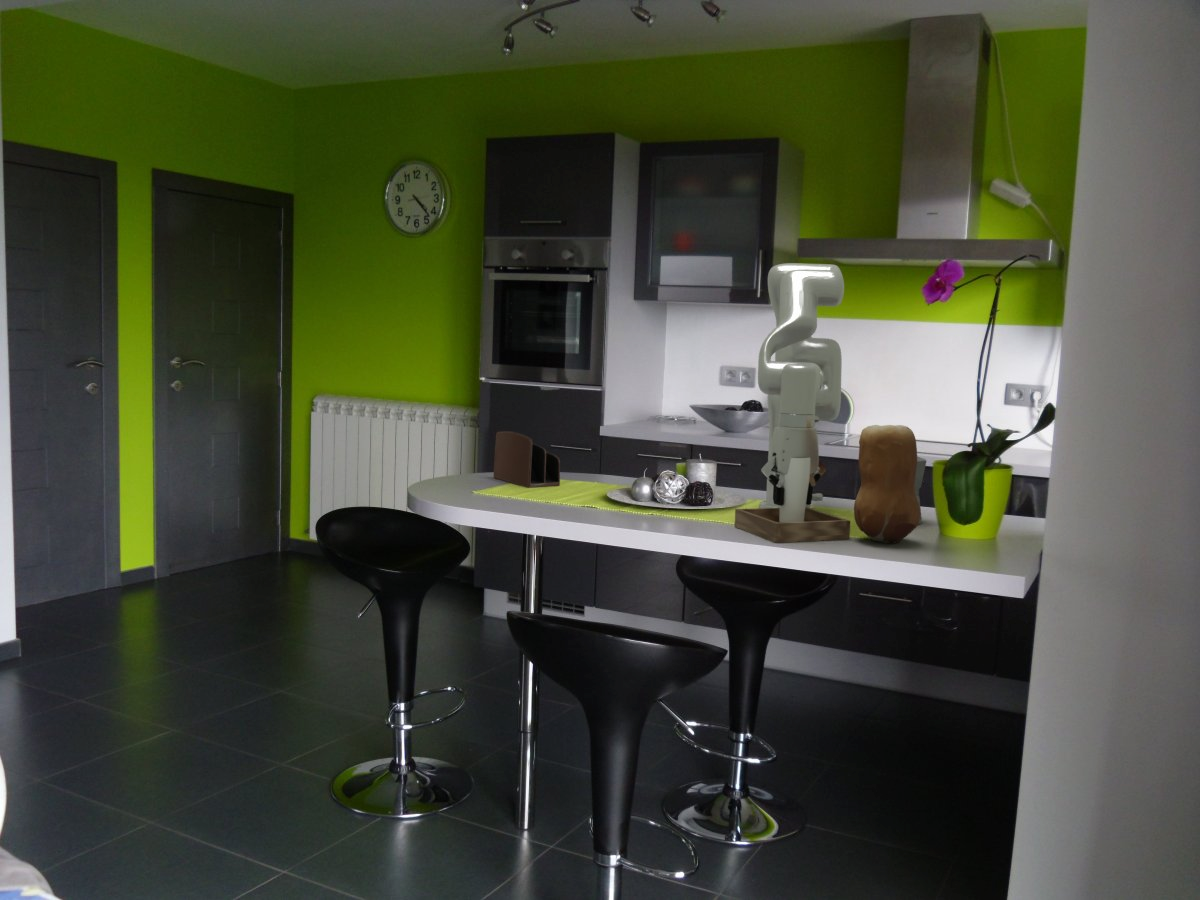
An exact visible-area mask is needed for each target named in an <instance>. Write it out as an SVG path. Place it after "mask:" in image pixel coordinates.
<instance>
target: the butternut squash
mask: <svg viewBox="0 0 1200 900" xmlns="http://www.w3.org/2000/svg"><path fill="white" fill-rule="evenodd" d="M858 444H859V448H858V470H859V474H860V487H859V490H858V493H857V495H856V498H855V500H854V504H853V517H854V521H855V523H856V526H857V527H858V529H859V531H861V532H863V533H864V534H865V535H866V536H867V537H868V538H870V539H872V541H876V542H880V543H884V544H892V545H893V544H896V543H899V542H901V541H902V540H903V539H905V538H906V537H907V536H909V535H910V534H911V533H913V531H914V530H916V528H918V526H919V525H918V523H919V519H920V515H921V516H922V513H921V514H920V508H921V505H920V506H919V503H918V500H917V497H916V493H915V486H914V485H915V476H916V469H917V457H918V447H917V440H916V436H915V434H914V432H913V430H912V429H911V428H910V427H908V426H907V425H903V424H902V425H901V424H895V425H893V424H887V425H886V424H885V425H878V424H873V425H867V426H865V427H864V428H863V429H862V430H861V431H860V437H859V442H858Z"/></svg>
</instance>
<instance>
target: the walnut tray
mask: <svg viewBox="0 0 1200 900" xmlns="http://www.w3.org/2000/svg"><path fill="white" fill-rule="evenodd" d="M779 515H780V510H779V508H760V507H757V508H756V507H754V508H735V512H734V528H736V527H738V528H737V529H739V528H741V529H743V530H742V531H744V530H745V532H747V531H748V532H747V533H749V534H752V535H754V536H757V537H759V538H762V539H765V540H768V541H770V542H773V543H775V544H776V543H777V544H778V543H799V542H798V541H803V542H818V541H819V542H821V540H824V541H840V540H841V541H842V540H843V541H844V540H846V541H847V540H850V538H851V536H850V535H851V523H852V522H851V519H850V520H849V519H845V518H843V517H840V516H836V515H833V514H830V513H827V512H823V511H820V510H818V509H815V508H812V507H811V508H808V507H806V508H805V516H804V522H783V523H780V522H779ZM741 529H740V530H741Z"/></svg>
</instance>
